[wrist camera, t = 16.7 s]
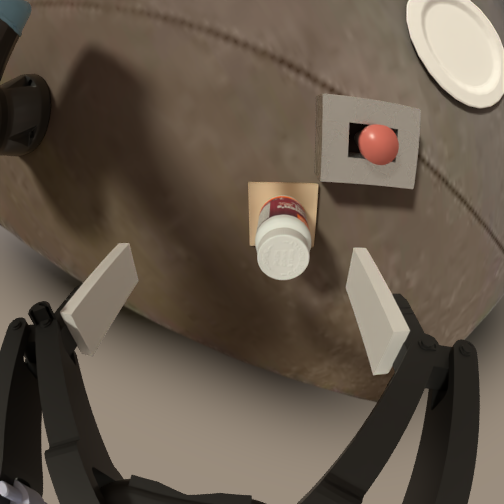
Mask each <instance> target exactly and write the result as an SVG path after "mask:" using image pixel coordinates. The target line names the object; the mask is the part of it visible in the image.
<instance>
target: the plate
mask: <svg viewBox="0 0 504 504" xmlns="http://www.w3.org/2000/svg"><path fill="white" fill-rule="evenodd" d="M406 23H407V27H408V31H409V35H410V39H411V41H412V43H413V45H414V47H415V50H416V52H417V54H418V56H419V58H420V59H421V61H422V63H423V64H424V66H425V67H426V69H427V71H428V72H429V74H430V75H431V76H432V77H433V78H434V79H435V81H436V82H437V83H438V84H439V85H440V87H441V88H443V89H444V90H445V91H446V92H447V93H449V94H450V95H451V96H452V97H453V98H454V99H456V100H458V101H460V102H462V103H463V104H465V105H467V106H471V107H476V108H486V107H491V106H492V105H494V104H495V103H497V102H498V101H499V100H500V98H501V97H502V95H503V94H504V48H503V46H502V43H501V40H500V38H499V36H498V34H497V32H496V31H495V29H494V27H493V25H492V24H491V22H490V21H489V20H488V18H487V17H486V16H485V15H484V14H483V12H482V11H481V10H480V9H479V8H478V7H477V6H476V5H475V4H474V3H472V2H471V1H470V0H408V3H407V5H406Z"/></svg>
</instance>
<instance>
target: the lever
mask: <svg viewBox="0 0 504 504" xmlns="http://www.w3.org/2000/svg"><path fill="white" fill-rule="evenodd" d="M354 140H355V143H356V145H357V146H358V147H359V150H360V152H361V154H362V156H363V157H364V158H365V159H367V160H368V161H370V162H372V163H373V164H376V165H386V164H388V163H390V162H392V161H393V160H394V159H395V157H396V155H397V153H398V149H399V142H398V139H397V136H396V134H395V133H394V132H393V131H392V130H391V129H390V128H389V127H387V126H384V125H379V124H372V125H369V126H367V127H365V128H364V129H363V130H360V131H358V132H357V133H356V134H355V137H354Z"/></svg>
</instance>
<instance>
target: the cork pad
mask: <svg viewBox="0 0 504 504" xmlns="http://www.w3.org/2000/svg"><path fill="white" fill-rule="evenodd" d="M248 190H249V230H250V246H255V237H256V231H257V226H258V219H259V214H260V210H261V208H262V206H263V205H264V204H265V202H266V201H268V200H269V199H271V198H273V197H275V196H280V195H285V196H290V197H292V198H294V199H296V200H297V201H299V202H300V204H301V205H302V206H303V208H304V211H305V214H306V217H307V222H308V225H309V230H310V234H311V247H314V239H315V227H316V214H317V199H318V184H316V183H286V182H249V183H248Z"/></svg>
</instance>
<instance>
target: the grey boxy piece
mask: <svg viewBox="0 0 504 504" xmlns="http://www.w3.org/2000/svg"><path fill="white" fill-rule="evenodd" d="M420 115H421V109H418V108H413V107H409V106H404V105H400V104H395V103H389V102H384V101H378V100H372V99H366V98H359V97H351V96H343V95H333V94H321V95H318V96H316V142H315V171H314V172H315V174H316V175H317V177H318V179H319V180H320V182H339V183H354V184H367V185H378V186H389V187H398V188H407V189H414V183H415V175H416V167H417V158H418V148H419V135H420ZM349 122H351V123H359V124H367V125H372V124H379V125H384V126H387V127H389V128H390V129H391V130H392V131H393V132H394V133H395V134H396V136H397V139H398V142H399V149H398V153H397V155H396V157H395V159H394V160H393V161H392V162H390V163H388V164H386V165H376V164H373V163H372V162H370V161H368V160H367V159H365V158H364V157H363V156H362V154H361V153H353V152H348V144H349Z"/></svg>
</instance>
